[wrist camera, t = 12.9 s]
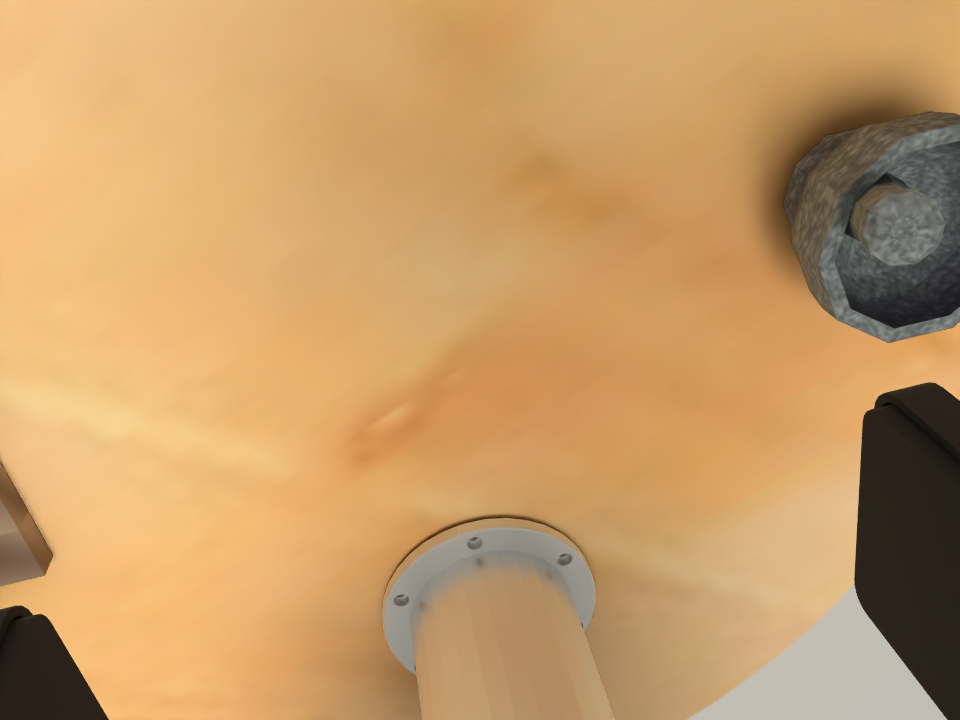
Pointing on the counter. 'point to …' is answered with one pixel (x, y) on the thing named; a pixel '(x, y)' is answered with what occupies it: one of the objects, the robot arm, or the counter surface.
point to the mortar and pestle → (882, 225)
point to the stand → (19, 538)
